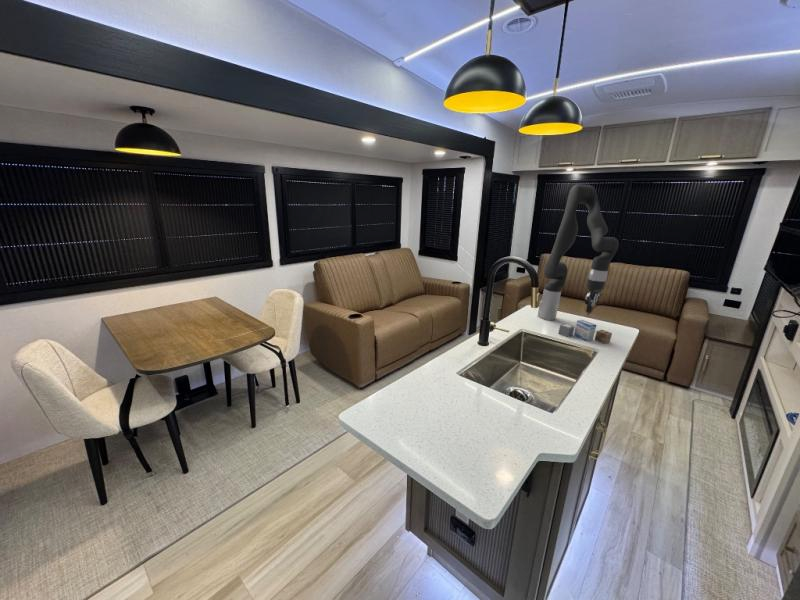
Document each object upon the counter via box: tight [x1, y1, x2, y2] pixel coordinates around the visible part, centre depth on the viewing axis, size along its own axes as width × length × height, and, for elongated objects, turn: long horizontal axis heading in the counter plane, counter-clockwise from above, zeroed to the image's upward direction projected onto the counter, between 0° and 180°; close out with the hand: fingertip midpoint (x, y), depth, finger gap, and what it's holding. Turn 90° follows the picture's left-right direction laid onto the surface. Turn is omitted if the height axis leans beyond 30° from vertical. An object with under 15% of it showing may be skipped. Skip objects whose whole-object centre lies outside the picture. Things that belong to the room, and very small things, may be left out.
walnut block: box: [594, 329, 613, 345], centre depth 160 cm, size 5×5×5 cm
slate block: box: [558, 323, 576, 338], centre depth 166 cm, size 5×5×5 cm
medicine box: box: [573, 319, 597, 342], centre depth 162 cm, size 8×4×9 cm, turn 25°
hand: (588, 312), depth 159 cm, fingers closed
